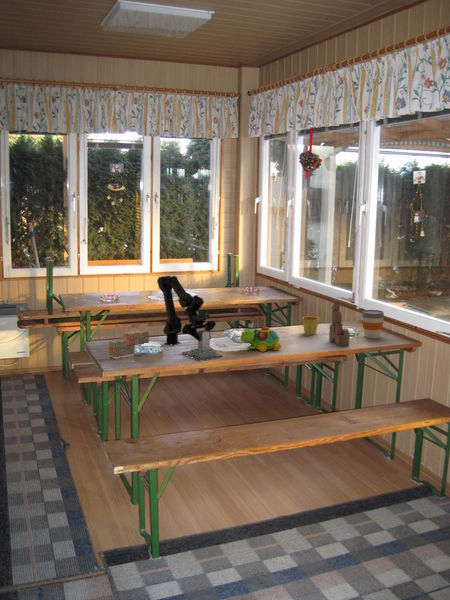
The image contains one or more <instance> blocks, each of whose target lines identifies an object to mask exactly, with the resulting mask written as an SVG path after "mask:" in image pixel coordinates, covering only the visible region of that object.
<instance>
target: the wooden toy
mask: <svg viewBox="0 0 450 600" xmlns="http://www.w3.org/2000/svg"><path fill="white" fill-rule="evenodd" d="M340 304H341V301H340V300H334V303H333V305H332V306H331V310H332V312H331V313H332V314H331V316H332V317H331V324H330V325H329V333H328V335H329V336H328V341H329V342H330V343H335V345H336V346H337V347H339V348H340V347H350V331H349V329H348V328H347V327H343V322H342V319H343V318H342V315H343V314H342V312H341V310H340V306H341V305H340Z"/></svg>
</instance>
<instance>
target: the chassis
mask: <svg viewBox="0 0 450 600" xmlns="http://www.w3.org/2000/svg"><path fill="white" fill-rule="evenodd" d="M182 353H183V354H182ZM181 354H182V355H184V354H185V355H184V356H186V355H188V356H190V357H189V358H191V357H193V358H195V359H194V360H196V359H198V360H204V361H207V360H206V359H209V360H212V359H211V358H215V359H217V358H216V357H220V358H222V357H223V354H220V353H218V352H217V349H213V348H212V347H210V351H208V352H202V353H201V352H199V351H198V347H197V348H192V349H191V350H187V351H186V350H185V351H182V352H181ZM188 356H187V357H188ZM221 356H222V357H221ZM193 358H192V359H193ZM198 360H197V361H198Z"/></svg>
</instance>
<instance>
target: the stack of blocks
mask: <svg viewBox="0 0 450 600" xmlns="http://www.w3.org/2000/svg"><path fill="white" fill-rule="evenodd" d="M122 334H123V335H122V336H123V337H121V338H117V339H112V340H108V356H109V355H110V356H113V357H119V356H125V355H129V354H133V353H134V346H135V345H137V344H144V343H149V342H150V337H149V331H148V330H145V329H135V330H130V331H125V332H123V333H122ZM149 344H150V343H149Z"/></svg>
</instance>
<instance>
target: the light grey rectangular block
mask: <svg viewBox="0 0 450 600" xmlns="http://www.w3.org/2000/svg"><path fill="white" fill-rule="evenodd" d="M197 333H198V335H199V337H200V339H201V341H198V340H197V348H198V351H199V352H201V353H202V352H208V351H210V348H211V341H210V340H211V339H210V336H211V331H210V332H209V331H206V330H205V329H203V330H197Z"/></svg>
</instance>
